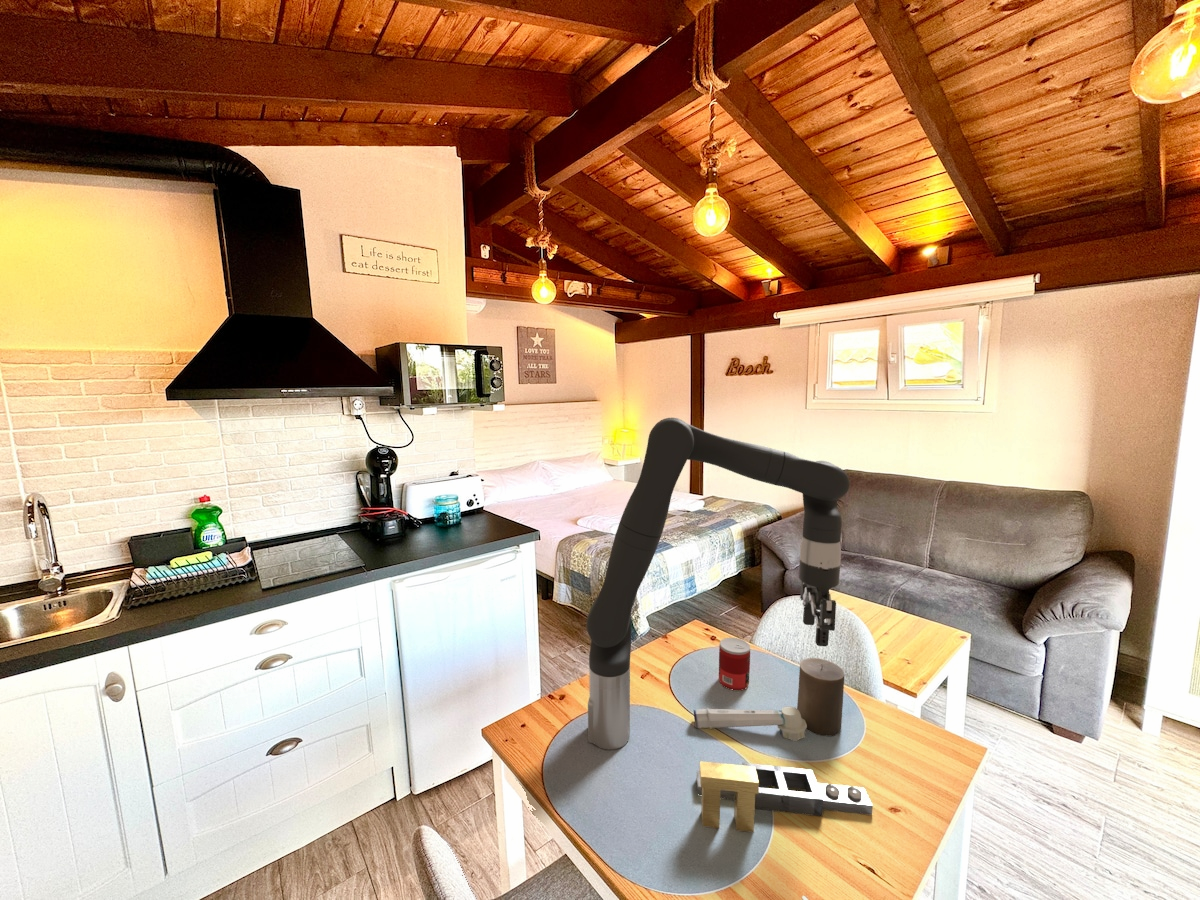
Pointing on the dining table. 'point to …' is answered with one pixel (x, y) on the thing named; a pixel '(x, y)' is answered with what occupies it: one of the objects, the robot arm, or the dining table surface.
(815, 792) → the chain ends
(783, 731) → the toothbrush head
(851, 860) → the dining table surface
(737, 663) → the canned food
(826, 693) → the pillar candle
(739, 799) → the wooden u-shaped block
